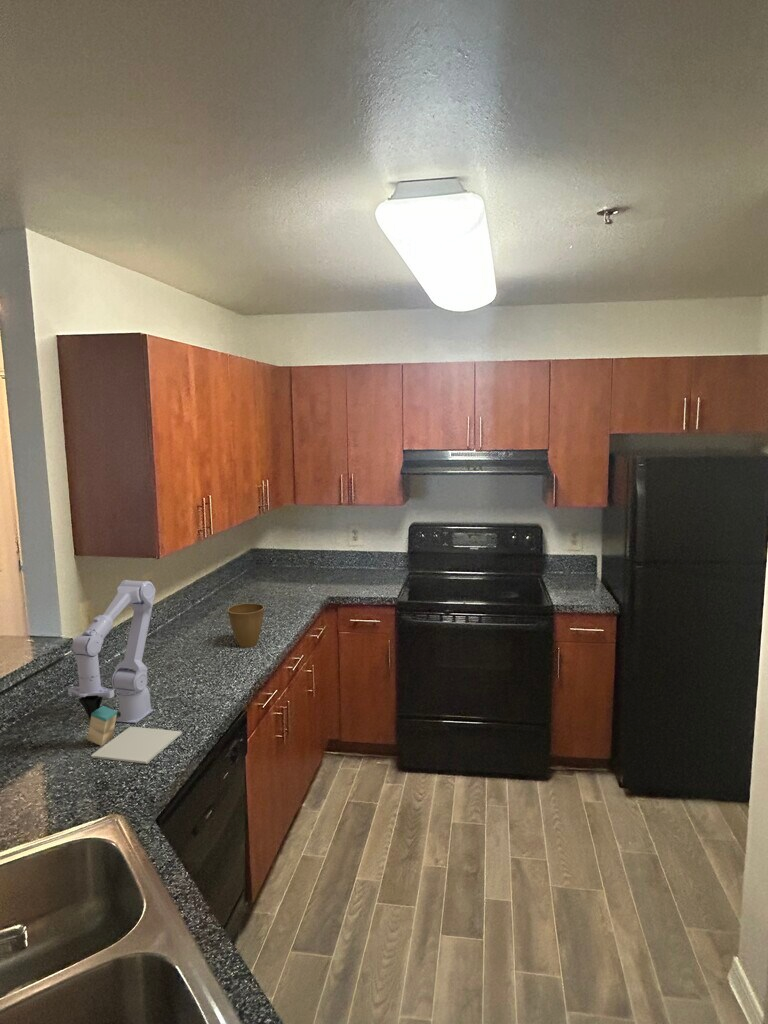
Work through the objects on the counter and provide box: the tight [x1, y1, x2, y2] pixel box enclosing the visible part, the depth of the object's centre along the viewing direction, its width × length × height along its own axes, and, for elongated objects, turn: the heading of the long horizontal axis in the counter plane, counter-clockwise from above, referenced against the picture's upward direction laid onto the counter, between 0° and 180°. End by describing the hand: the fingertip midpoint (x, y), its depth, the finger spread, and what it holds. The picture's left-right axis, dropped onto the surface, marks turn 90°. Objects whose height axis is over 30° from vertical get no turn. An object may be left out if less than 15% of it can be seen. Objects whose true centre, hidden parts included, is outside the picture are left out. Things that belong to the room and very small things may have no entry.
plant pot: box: [227, 602, 265, 648], centre depth 275 cm, size 15×15×16 cm
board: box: [90, 726, 183, 765], centre depth 192 cm, size 18×18×1 cm
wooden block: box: [86, 705, 118, 747], centre depth 195 cm, size 5×5×9 cm
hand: (93, 718), depth 195 cm, fingers closed
